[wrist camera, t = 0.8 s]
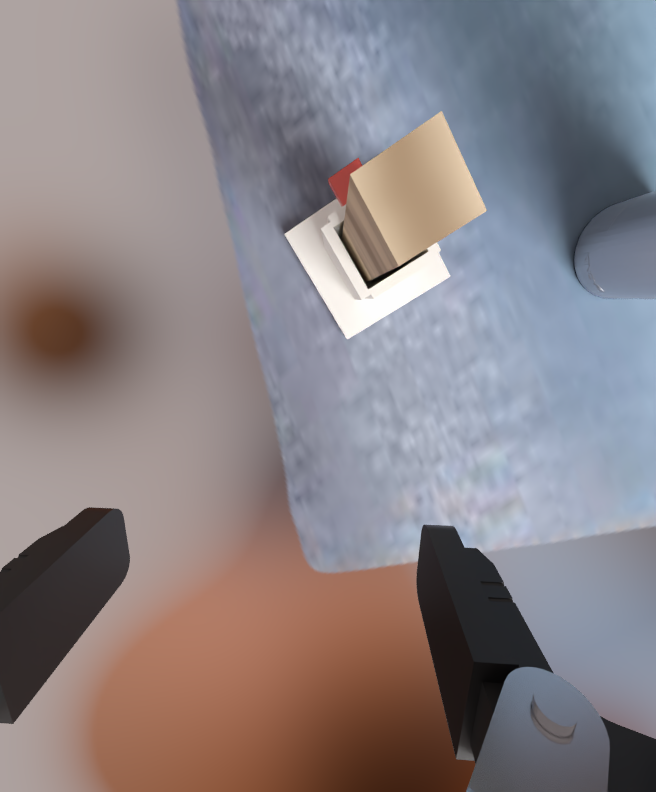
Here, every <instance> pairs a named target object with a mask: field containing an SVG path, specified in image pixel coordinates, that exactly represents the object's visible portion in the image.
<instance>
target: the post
mask: <svg viewBox="0 0 656 792" xmlns="http://www.w3.org/2000/svg"><path fill="white" fill-rule="evenodd" d="M486 211H487V210H486V208H485V205H484V203H483V201H482V199H481V197H480V194H479V192H478V190H477V188H476V186H475V183H474V181H473V179H472V177H471V175H470V172H469V170H468V168H467V166H466V164H465V161H464V159H463V157H462V155H461V153H460V150H459V148H458V146H457V144H456V142H455V139H454V137H453V135H452V133H451V131H450V128H449V126H448V124H447V122H446V120H445V117H444V115H443V113H442V111H441V112H439V113H438V114H437V115H435V116H434V117H432V118H431V119H429V120H428V121H426V122H425V123H424V124H422V125H421V126H419V127H418V128H416V129H415V130H413V131H412V132H411V133H409V134H408V135H406V136H405V137H403V138H402V139H401V140H399V141H398V142H396V143H395V144H393V145H392V146H390V147H389V148H388V149H386V150H385V151H383V152H382V153H380V154H379V155H377V156H376V157H375V158H373V159H372V160H370V161H369V162H367V163H366V164H364V165H363V166H362V167H360V168H359V169H357V170H356V171H354V172H353V173H351V174H350V179H349V186H348V194H347V202H346V210H345V218H344V225H343V233H342V239H340V240H341V242H342V244H343V245H344V247H345V249H346V251H347V252H348V254H349V256H350V258H351V260H352V261H353V263H354V265H355V267H356V269H357V270H358V272H359V274H360V276H361V277H362V279H363V281H364V283H365V284H366V283H368V282H369V281H371V280H372V279H374V278H376V277H378V276H380V275H382V274H384V273H386V272H388V271H390V270H392V269H394V268H396V267H398V266H400V265H402V264H403V263H405V262H406V261H408V260H410V259H411V258H413V257H414V256H416V255H418V254H419V253H421V252H422V251H424V250H425V249H427V248H429V247H430V246H432V245H433V244H435V243H437V242H438V241H440V240H441V239H443V238H444V237H446V236H448V235H449V234H451V233H452V232H454V231H456V230H457V229H459V228H460V227H462V226H463V225H465V224H467V223H468V222H470V221H471V220H473V219H475V218H476V217H478V216H479V215H481V214H482V213H484V212H486Z"/></svg>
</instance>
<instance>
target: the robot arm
mask: <svg viewBox="0 0 656 792" xmlns="http://www.w3.org/2000/svg"><path fill="white" fill-rule="evenodd" d="M574 261H575V270H576V274H577V277H578V279H579V281H580V282H581V284H582V285H583V286H584V287H585V289H586V290H587V291H589V292H590V293H592V294H594V295H595V296H598V297H602V298H608V299H656V191H653V192H650V193H647V194H644V195H641V196H638V197H635V198H632V199H629V200H626V201H623V202H620V203H617V204H614V205H612V206H609V207H608V208H606V209H604V210H603V211H601V212H600V213H599V214H597V215H596V216H595V217H594V218H593V219H592V220H591V221H590V222H589V223H588V225H587V226H586V227H585V229H584V230H583V232H582V234H581V236H580V237H579V240H578V243H577V246H576V250H575V257H574ZM129 563H130V555H129V549H128V542H127V536H126V530H125V523H124V517H123V514H122V512H121V511H120V510H119V509H111V508H90V507H89V508H87V509H84V510H83V511H82V512H80V513H79V514H78V515H77V516H76V517H74V518H73V519H72V520H71V521H69V522H68V523H67V524H66V525H65V526H62V527H60V528H58V529H57V530H55V531H53V532H51V533H49V534H47V535H45V536H43V537H41V538H40V539H38V540H37V541H35V542H34V543H33V544H32V545H30V546H29V547H28V548H27V549H25V550H24V551H23V552H22V553H20V554H19V557H18V558H14V559H13V560H12V561H10V562H9V563H8V564H7V565H5V566H4V567H3V568H2V570H1V572H0V723H9V724H13V723H14V722H15V721H16V719H17V718H18V717H19V715H20V714H21V713H22V712H23V710H24V709H25V708H26V706H27V705H28V704H29V703H30V701H31V700H32V699H33V697H34V696H35V695H36V693H37V692H38V691H39V690H40V688H41V687H42V686H43V684H44V683H45V682H46V681H47V679H48V678H49V677H50V675H51V674H52V673H53V672H54V670H55V669H56V668H57V666H58V665H59V664H60V662H61V661H62V660H63V659H64V657H65V656H66V655H67V653H68V652H69V651H70V649H71V648H72V647H73V646H74V644H75V643H76V642H77V641H78V639H79V638H80V636H81V635H82V634H83V632H84V631H85V630H86V629H87V628H88V626H89V625H90V624H91V622H92V621H93V620H94V619H95V617H96V616H97V615H98V613H99V612H100V611H101V609H102V608H103V607H104V606H105V604H106V603H107V602H108V600H109V599H110V598H111V596H112V595H113V594H114V593H115V591H116V590H117V588H118V587H119V586H120V585H121V584H122V582H123V580H124V579H125V577H126V574H127V571H128V568H129ZM417 594H418V600H419V605H420V609H421V613H422V618H423V622H424V626H425V630H426V634H427V638H428V642H429V647H430V651H431V655H432V660H433V664H434V668H435V672H436V676H437V680H438V685H439V689H440V693H441V697H442V702H443V706H444V710H445V714H446V719H447V723H448V727H449V731H450V735H451V740H452V743H453V748H454V752H455V756H456V759H460V760H473V761H475V763H476V765H475V768H474V771H473V774H472V777H471V780H470V783H469V786H468V788H467V791H466V792H656V739H654V738H651V737H648V736H646V735H643V734H641V733H638V732H635V731H633V730H630V729H628V728H625V727H622V726H620V725H617V724H615V723H613V722H610V721H608V720H606V719H604V718H603V717H601V716H599V714H598V712H597V711H596V710H595V708H594V707H593V706H592V704H591V703H590V702H589V701H588V700H587V698H586V697H585V696H584V695H583V694H582V693H581V692H580V691H579V690H577V689H576V688H575V687H574V686H573V685H571V684H570V683H569V682H567V681H566V680H564V679H563V678H561V677H559V676H557V675H555V674H554V673H553V671H552V670H551V668H550V666H549V665H548V662H547V661H546V659H545V657H544V655H543V653H542V652H541V650H540V648H539V646H538V644H537V642H536V641H535V639H534V637H533V635H532V633H531V631H530V630H529V628H528V626H527V624H526V622H525V621H524V619H523V617H522V615H521V613H520V611H519V610H518V608H517V606H516V604H515V603H513V600H512V597H511V595H510V593H509V591H508V589H507V588H506V586H504V582H503V580H502V578H501V577H500V575H499V573H498V571H497V569H496V567H495V566H494V564H493V563H492V562H491V561H490V560H489V559H487V558H486V557H485V556H484V555H483V554H482V553H481V552H480V551H479V550H478V549H477V548H464V546H463V543H462V541H461V539H460V537H459V535H458V533H457V531H456V529H455V527H453V526H440V525H423V527H422V532H421V540H420V549H419V558H418V567H417Z"/></svg>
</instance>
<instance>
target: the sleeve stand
mask: <svg viewBox="0 0 656 792" xmlns="http://www.w3.org/2000/svg"><path fill="white" fill-rule="evenodd" d="M360 167H362V164H361V162H360V160H359V158H357V159H356V160H354V161H353V162H352V163H350V164H349V165H347V166H346V167H344V168H343V169H342V170H340V171H339V172H337V173H336V174H334V175H333V176H332V177H330V178H329V179H328V183H329V185H330V187H331V189H332V191H333V192H334V194H335V196H336V199H335V200H333V201H332V202H330V203H329V204H328V205H326V206H325V207H323V208H322V209H320V210H319V211H317V212H316V213H314V214H313V215H311V216H310V217H309V218H307V219H306V220H304V221H303V222H301V223H300V224H298V225H297V226H295V227H294V228H293V229H291V230H290V231H288V232H287V233H285V236H286V238H287V239H288V241H289V243H290V244H291V246H292V248H293V250H294V251H295V253H296V255H297V256H298V258H299V260H300V261H301V263H302V265H303V266H304V268H305V270H306V271H307V273H308V275H309V276H310V278H311V280H312V281H313V283H314V285H315V286H316V288H317V290H318V291H319V293H320V295H321V296H322V298H323V300H324V301H325V303H326V305H327V306H328V308H329V310H330V311H331V313H332V315H333V317H334V318H335V320H336V322H337V323H338V325H339V327H340V328H341V330H342V332H343V333H344V335H345V337H346V338H347V339H349V338H351V337H352V336H354V335H355V334H357V333H359V332H360V331H362V330H364V329H365V328H367V327H369V326H370V325H372V324H373V323H375V322H377V321H378V320H380V319H382V318H383V317H385V316H386V315H388V314H390V313H391V312H393V311H395V310H396V309H398V308H400V307H401V306H403V305H404V304H406V303H408V302H409V301H411V300H413V299H414V298H416V297H418V296H419V295H421V294H422V293H424V292H426V291H427V290H429V289H431V288H432V287H434V286H436V285H437V284H439V283H440V282H442V281H444V280H445V279H447V278H449V277H450V274H449V272H448V270H447V268H446V266H445V264H444V262H443V260H442V258H441V256H440V254H439V251H441V249H440V247H439V245H438V243H435V244H433V245H432V246H430V247H429V248H427V249H425V250H424V251H422V252H421V253H419V254H418V255H416V256H414V257H413V258H411V259H410V260H408V261H406V262H405V263H403V264H402V265H400V266H398V267H396V268H394V269H392V270H390V271H388V272H386V273H384V274H382V275H380V276H378V277H376V278H374V279H372V280H371V281H369V282H368V283H366V284H365V283H364V281H363V279H362V277H361V276H360V274H359V272H358V270H357V269H356V267H355V265H354V263H353V261H352V260H351V258H350V256H349V254H348V252H347V251H346V249H345V247H344V245H343V244H342V242H341V240H340V239H342V233H343V225H344V218H345V210H346V202H347V194H348V186H349V179H350V174H351V173H353V172H354V171H356V170H357V169H359V168H360Z"/></svg>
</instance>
